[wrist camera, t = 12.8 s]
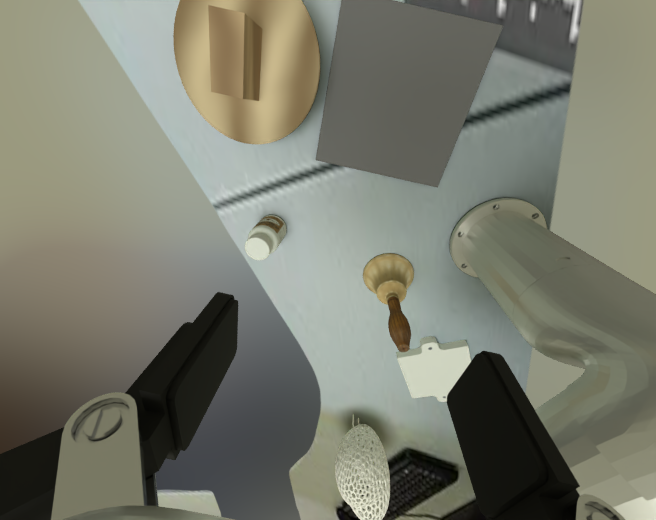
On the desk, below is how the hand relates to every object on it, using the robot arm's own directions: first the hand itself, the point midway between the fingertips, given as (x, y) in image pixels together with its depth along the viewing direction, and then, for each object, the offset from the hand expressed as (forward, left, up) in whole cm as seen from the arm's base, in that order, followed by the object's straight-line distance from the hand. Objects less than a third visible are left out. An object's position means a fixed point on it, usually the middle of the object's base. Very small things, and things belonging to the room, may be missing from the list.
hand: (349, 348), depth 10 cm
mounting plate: (-25, +33, -31) cm, 52 cm away
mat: (-2, -10, -30) cm, 32 cm away
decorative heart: (-16, +58, -31) cm, 68 cm away
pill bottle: (+11, +10, -31) cm, 34 cm away
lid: (+14, -10, -25) cm, 31 cm away
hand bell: (-9, +14, -31) cm, 35 cm away
